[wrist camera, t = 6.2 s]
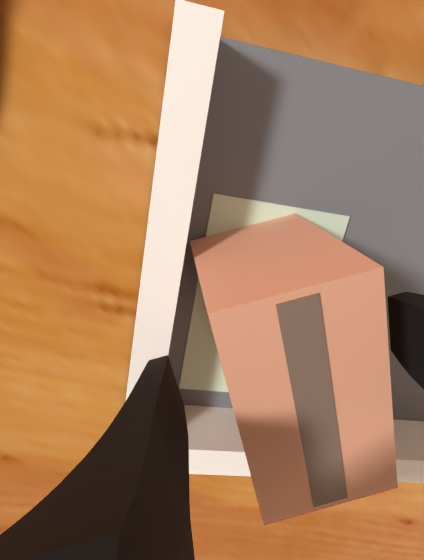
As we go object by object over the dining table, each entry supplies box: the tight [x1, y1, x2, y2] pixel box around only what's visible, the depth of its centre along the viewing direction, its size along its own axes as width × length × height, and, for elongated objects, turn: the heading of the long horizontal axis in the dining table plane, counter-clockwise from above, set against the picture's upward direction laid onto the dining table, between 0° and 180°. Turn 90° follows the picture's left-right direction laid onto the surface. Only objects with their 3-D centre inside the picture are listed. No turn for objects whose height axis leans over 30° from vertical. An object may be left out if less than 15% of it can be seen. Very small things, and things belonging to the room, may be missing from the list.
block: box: [190, 213, 398, 525], centre depth 12 cm, size 7×4×6 cm, turn 13°
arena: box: [125, 0, 424, 483], centre depth 15 cm, size 16×15×3 cm
